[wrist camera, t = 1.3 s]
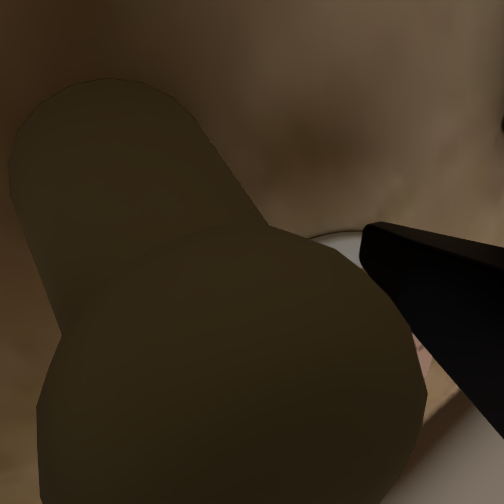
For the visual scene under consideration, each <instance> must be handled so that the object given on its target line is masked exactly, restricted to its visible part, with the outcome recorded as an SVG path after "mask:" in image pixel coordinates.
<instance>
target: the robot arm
mask: <svg viewBox="0 0 504 504" xmlns="http://www.w3.org/2000/svg"><path fill="white" fill-rule="evenodd" d="M359 261H360V264H361V266H362V267H363V268H364V270H365V271H366V273H367V274H368V276H369V277H370V278H371V279H372V280H373V281H374V282H375V283H376V284H377V285H378V286H379V287H380V288H381V289H382V290H383V291H384V292H385V293H386V294H387V295H388V296H389V297H390V298H391V300H392V301H393V303H394V304H395V306H396V307H397V308H398V310H399V311H400V313H401V314H402V316H403V317H404V319H405V320H406V322H407V323H408V324H409V326H410V328H411V332H412V333H413V335H414V336H415V337H416V338H417V339H418V340H419V342H420V343H421V344H422V345H423V346H424V347H425V349H426V350H427V351H428V352H429V353H430V354H431V355H432V357H433V358H434V359H435V360H436V361H437V362H438V364H439V365H440V366H441V367H442V368H443V369H444V371H445V372H446V373H447V374H448V375H449V376H450V378H451V379H452V380H453V381H454V382H455V383H456V385H457V386H458V387H459V388H460V389H461V390H462V391H463V392H464V394H465V395H466V396H467V397H468V398H469V400H470V401H471V402H472V403H473V404H474V405H475V406H476V408H477V409H478V410H479V411H480V412H481V414H483V416H484V417H485V418H486V419H487V420H488V422H489V423H490V424H491V425H492V426H493V427H494V429H495V430H496V431H497V432H498V433H499V434H500V436H501V437H502V438H503V439H504V248H503V247H498V246H494V245H489V244H484V243H480V242H475V241H470V240H466V239H461V238H456V237H452V236H447V235H442V234H438V233H433V232H429V231H424V230H419V229H415V228H410V227H405V226H401V225H396V224H391V223H387V222H375V223H371V224H367V225H366V226H365V227H364V229H363V232H362V238H361V244H360V250H359Z"/></svg>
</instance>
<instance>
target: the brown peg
mask: <svg viewBox="0 0 504 504" xmlns="http://www.w3.org/2000/svg"><path fill="white" fill-rule="evenodd" d="M8 168H9V183H10V196H11V199H12V201H13V204H14V207H15V209H16V212H17V215H18V217H19V220H20V223H21V225H22V228H23V231H24V234H25V236H26V239H27V242H28V244H29V247H30V250H31V252H32V255H33V258H34V260H35V263H36V266H37V268H38V271H39V274H40V277H41V279H42V282H43V285H44V287H45V290H46V293H47V295H48V298H49V301H50V303H51V306H52V309H53V311H54V314H55V317H56V319H57V322H58V325H59V328H60V330H61V333H62V337H61V339H60V342H59V344H58V347H57V349H56V352H55V354H54V357H53V359H52V362H51V364H50V367H49V369H48V372H47V375H46V378H45V381H44V384H43V387H42V391H41V394H40V397H39V400H38V403H37V406H36V409H37V452H38V469H39V487H40V498H41V501H42V503H43V504H379V503H380V502H381V501H382V499H383V498H384V497H385V495H386V494H387V493H388V491H389V490H390V488H391V487H392V486H393V485H394V483H395V482H396V481H397V480H398V478H399V477H400V475H401V473H402V471H403V469H404V467H405V465H406V463H407V461H408V459H409V457H410V455H411V453H412V451H413V449H414V447H415V445H416V442H417V439H418V436H419V432H420V430H421V427H422V422H423V416H424V411H425V406H426V400H427V395H428V393H427V389H426V385H425V381H424V378H423V374H422V370H421V366H420V362H419V358H418V355H417V351H416V347H415V343H414V339H413V336H412V332H411V328H410V326H409V324H408V323H407V322H406V320H405V319H404V317H403V316H402V314H401V313H400V311H399V310H398V308H397V307H396V306H395V304H394V303H393V301H392V300H391V298H390V297H389V296H388V295H387V294H386V293H385V292H384V291H383V290H382V289H381V288H380V287H379V286H378V285H377V284H376V283H375V282H374V281H373V280H372V279H371V278H370V277H369V276H368V275H367V274H366V273H365V272H364V271H363V270H362V269H361V268H360V267H358V266H357V265H356V264H354V263H353V262H352V261H350V260H349V259H348V258H347V257H345V256H344V255H343V254H341V253H340V252H339V251H338V250H336V249H334V248H332V247H329V246H326V245H323V244H321V243H318V242H315V241H312V240H310V239H307V238H304V237H301V236H298V235H295V234H292V233H290V232H287V231H284V230H281V229H278V228H275V227H272V226H269V225H268V223H267V222H266V221H265V219H264V218H263V216H262V215H261V213H260V212H259V211H258V209H257V208H256V206H255V205H254V203H253V202H252V201H251V199H250V198H249V196H248V195H247V193H246V192H245V190H244V189H243V188H242V186H241V185H240V183H239V182H238V180H237V179H236V178H235V176H234V175H233V173H232V172H231V170H230V169H229V168H228V166H227V165H226V163H225V162H224V160H223V159H222V158H221V156H220V155H219V153H218V152H217V150H216V149H215V148H214V146H213V145H212V143H211V142H210V140H209V139H208V137H207V136H206V135H205V133H204V132H203V130H202V129H201V127H200V126H199V125H198V123H197V122H196V120H195V119H194V118H193V117H192V116H191V115H190V114H189V113H188V112H187V111H186V110H185V109H184V108H183V107H182V106H181V105H180V104H179V103H178V102H177V101H176V100H175V99H173V98H172V97H171V96H169V95H167V94H165V93H162V92H160V91H158V90H156V89H154V88H152V87H150V86H148V85H146V84H144V83H141V82H133V81H126V80H118V79H110V78H105V79H100V80H95V81H90V82H85V83H80V84H75V85H71V86H69V87H68V88H66V89H64V90H62V91H61V92H59V93H57V94H56V95H54V96H52V97H51V98H49V99H47V100H46V101H44V102H42V103H41V104H40V105H39V106H38V107H37V108H36V110H35V111H34V112H33V113H32V115H31V116H30V117H29V118H28V120H27V121H26V122H25V123H24V124H23V126H22V127H21V128H20V129H19V131H18V134H17V137H16V140H15V143H14V146H13V149H12V152H11V156H10V159H9V162H8Z"/></svg>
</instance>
